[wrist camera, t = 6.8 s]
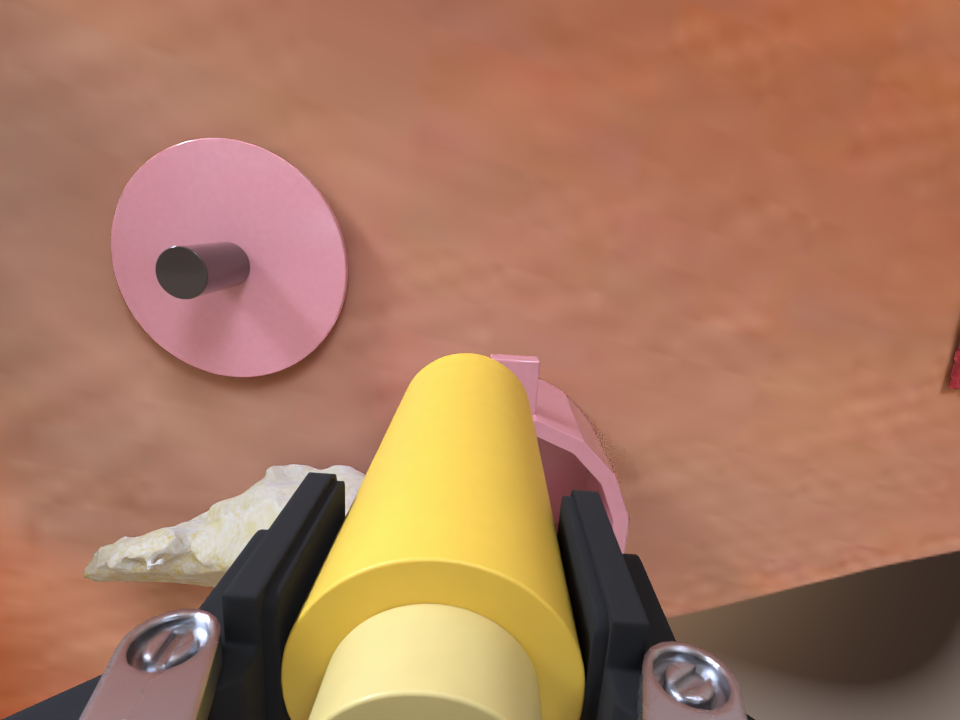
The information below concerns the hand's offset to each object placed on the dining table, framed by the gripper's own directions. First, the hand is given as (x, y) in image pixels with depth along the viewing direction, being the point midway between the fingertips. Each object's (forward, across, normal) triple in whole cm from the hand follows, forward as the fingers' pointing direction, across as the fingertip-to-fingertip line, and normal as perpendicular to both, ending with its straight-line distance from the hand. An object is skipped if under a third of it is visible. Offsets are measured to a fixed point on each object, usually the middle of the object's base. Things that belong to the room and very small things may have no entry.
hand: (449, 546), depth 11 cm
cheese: (+22, +12, +14) cm, 29 cm away
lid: (+21, +14, -3) cm, 26 cm away
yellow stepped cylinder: (+8, 0, 0) cm, 8 cm away
